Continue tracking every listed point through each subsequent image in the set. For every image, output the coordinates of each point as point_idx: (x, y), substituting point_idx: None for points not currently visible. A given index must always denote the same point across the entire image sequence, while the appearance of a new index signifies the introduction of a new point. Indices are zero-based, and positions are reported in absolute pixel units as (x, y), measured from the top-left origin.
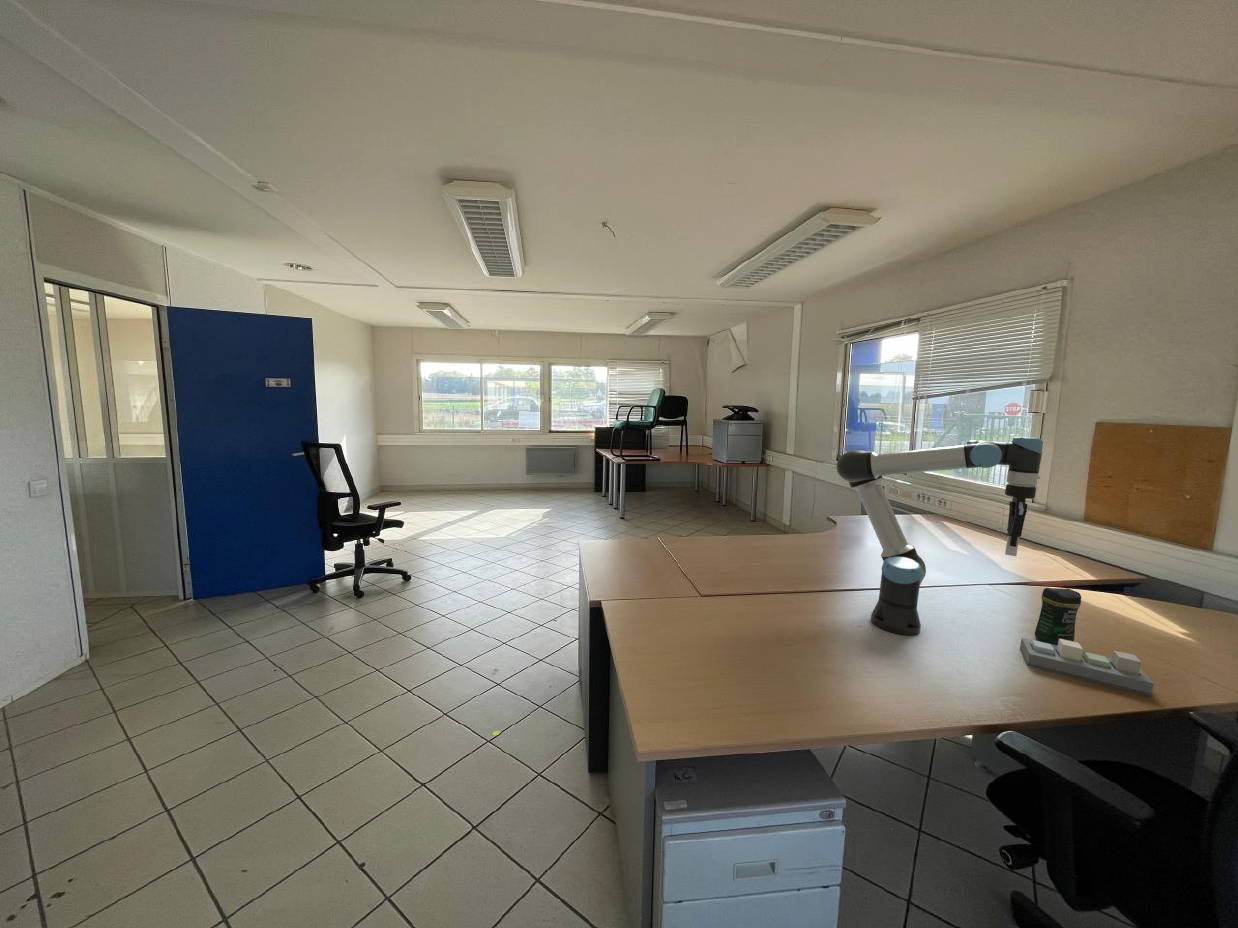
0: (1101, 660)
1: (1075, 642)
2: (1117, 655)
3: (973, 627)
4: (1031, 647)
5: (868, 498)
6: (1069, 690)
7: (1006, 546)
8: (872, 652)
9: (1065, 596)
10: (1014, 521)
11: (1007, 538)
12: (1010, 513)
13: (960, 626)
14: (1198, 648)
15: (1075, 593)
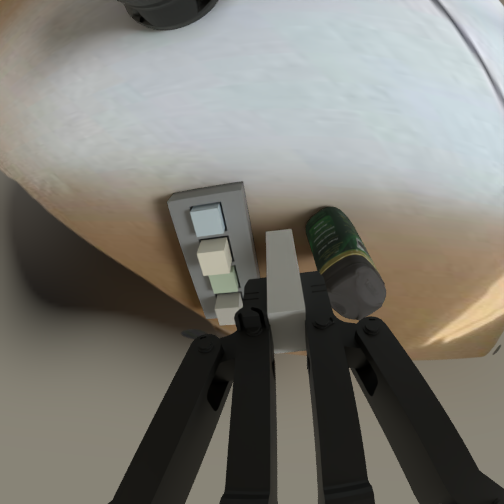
0: (214, 286)
1: (227, 269)
2: (221, 308)
3: (297, 106)
4: (201, 204)
5: None
6: (140, 237)
7: (281, 255)
8: (45, 29)
9: None
10: (141, 447)
11: (295, 289)
12: (326, 499)
13: (281, 83)
14: (404, 347)
15: (353, 314)
